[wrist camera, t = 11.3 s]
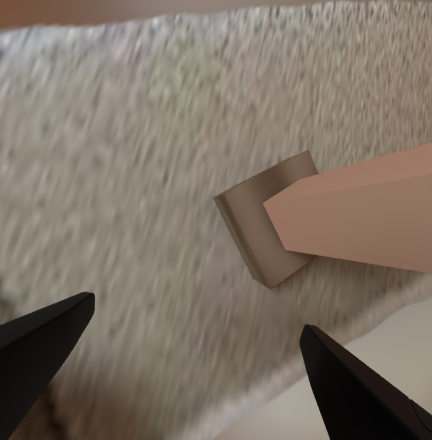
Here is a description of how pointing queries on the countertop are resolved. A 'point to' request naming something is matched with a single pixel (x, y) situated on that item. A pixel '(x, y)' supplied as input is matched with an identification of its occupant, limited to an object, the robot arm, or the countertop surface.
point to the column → (362, 212)
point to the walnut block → (264, 220)
